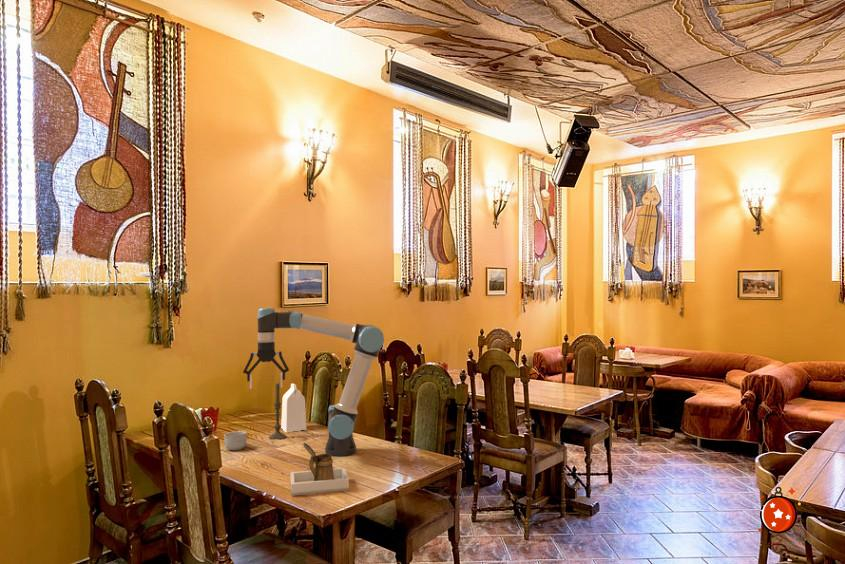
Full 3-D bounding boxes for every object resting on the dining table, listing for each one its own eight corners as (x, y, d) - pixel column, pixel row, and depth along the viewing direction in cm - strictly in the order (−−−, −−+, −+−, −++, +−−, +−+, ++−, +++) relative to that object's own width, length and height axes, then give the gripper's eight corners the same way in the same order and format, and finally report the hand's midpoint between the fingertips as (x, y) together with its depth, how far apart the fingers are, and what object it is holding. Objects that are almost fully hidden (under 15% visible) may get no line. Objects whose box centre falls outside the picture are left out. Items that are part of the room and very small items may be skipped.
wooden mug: (298, 485, 222) (298, 440, 222) (328, 478, 230) (328, 434, 231) (308, 491, 215) (308, 444, 215) (339, 484, 223) (339, 439, 224)
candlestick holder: (285, 434, 308) (284, 380, 309) (287, 438, 300) (287, 382, 300) (268, 436, 305) (267, 381, 306) (269, 440, 296) (269, 384, 297)
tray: (344, 478, 233) (344, 467, 233) (348, 490, 219) (348, 478, 219) (290, 483, 228) (290, 472, 228) (291, 496, 213) (291, 484, 213)
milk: (281, 428, 323) (281, 383, 324) (300, 426, 329) (300, 382, 330) (286, 432, 313) (286, 386, 314) (306, 430, 318) (306, 384, 319)
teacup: (239, 452, 274) (239, 436, 274) (219, 451, 276) (219, 435, 276) (253, 445, 287) (253, 429, 288) (234, 444, 290) (234, 428, 290)
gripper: (293, 340, 263) (293, 385, 262) (238, 341, 256) (238, 387, 256) (294, 341, 255) (294, 387, 255) (237, 343, 249) (237, 390, 249)
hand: (266, 387), depth 255 cm, fingers open, 13 cm apart
